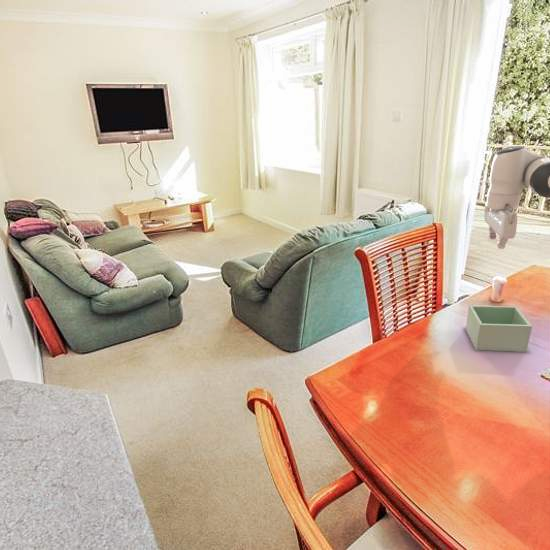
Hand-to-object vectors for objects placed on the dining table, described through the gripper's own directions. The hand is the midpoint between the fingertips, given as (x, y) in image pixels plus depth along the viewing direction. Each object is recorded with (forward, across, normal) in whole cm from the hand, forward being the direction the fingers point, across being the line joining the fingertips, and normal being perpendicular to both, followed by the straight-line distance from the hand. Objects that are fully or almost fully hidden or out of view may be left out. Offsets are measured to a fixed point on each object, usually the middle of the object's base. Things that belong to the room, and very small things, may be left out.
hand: (496, 243), depth 122 cm
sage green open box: (+25, -19, +2) cm, 32 cm away
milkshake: (+25, +7, -6) cm, 26 cm away
